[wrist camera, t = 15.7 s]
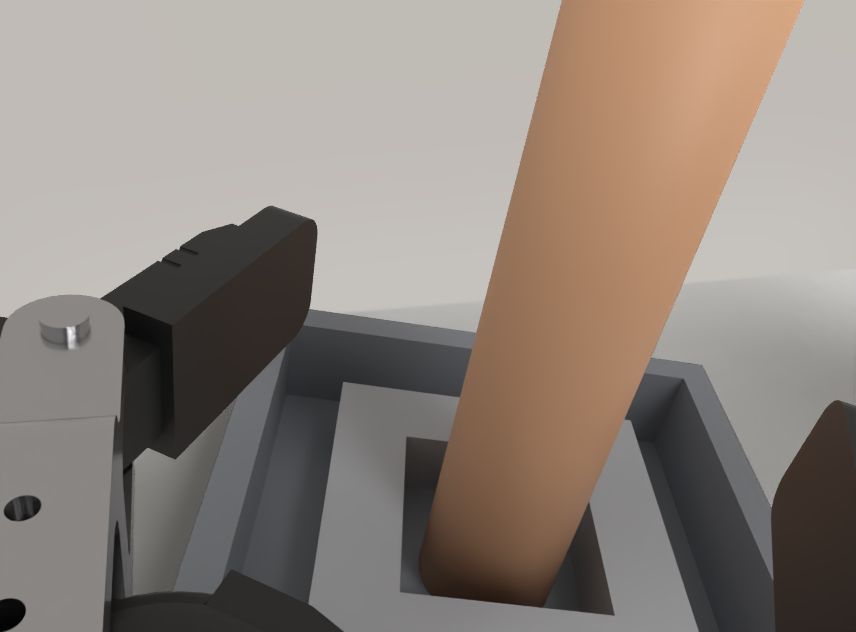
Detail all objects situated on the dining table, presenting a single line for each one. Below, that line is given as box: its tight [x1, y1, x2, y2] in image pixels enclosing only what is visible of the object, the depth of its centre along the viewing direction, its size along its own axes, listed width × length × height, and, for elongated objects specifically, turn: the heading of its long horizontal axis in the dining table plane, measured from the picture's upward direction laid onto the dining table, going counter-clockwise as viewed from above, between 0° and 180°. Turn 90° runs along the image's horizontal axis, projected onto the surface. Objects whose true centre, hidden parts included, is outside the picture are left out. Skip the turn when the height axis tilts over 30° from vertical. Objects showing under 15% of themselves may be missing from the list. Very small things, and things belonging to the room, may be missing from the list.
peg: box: [419, 0, 805, 608], centre depth 18 cm, size 4×4×17 cm
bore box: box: [173, 309, 775, 632], centre depth 22 cm, size 16×15×4 cm
